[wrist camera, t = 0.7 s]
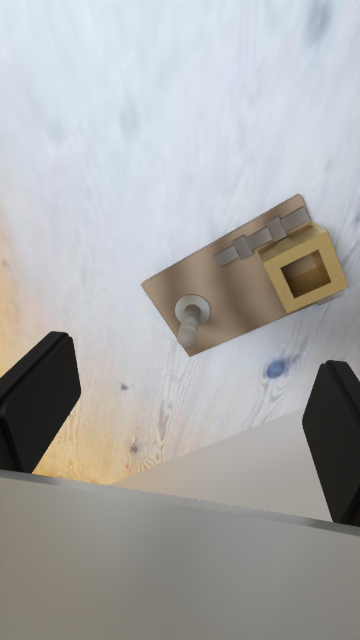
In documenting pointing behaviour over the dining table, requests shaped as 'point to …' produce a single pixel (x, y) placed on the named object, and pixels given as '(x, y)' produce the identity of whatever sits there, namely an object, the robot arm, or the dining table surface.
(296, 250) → the end link
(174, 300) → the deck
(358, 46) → the dining table surface
